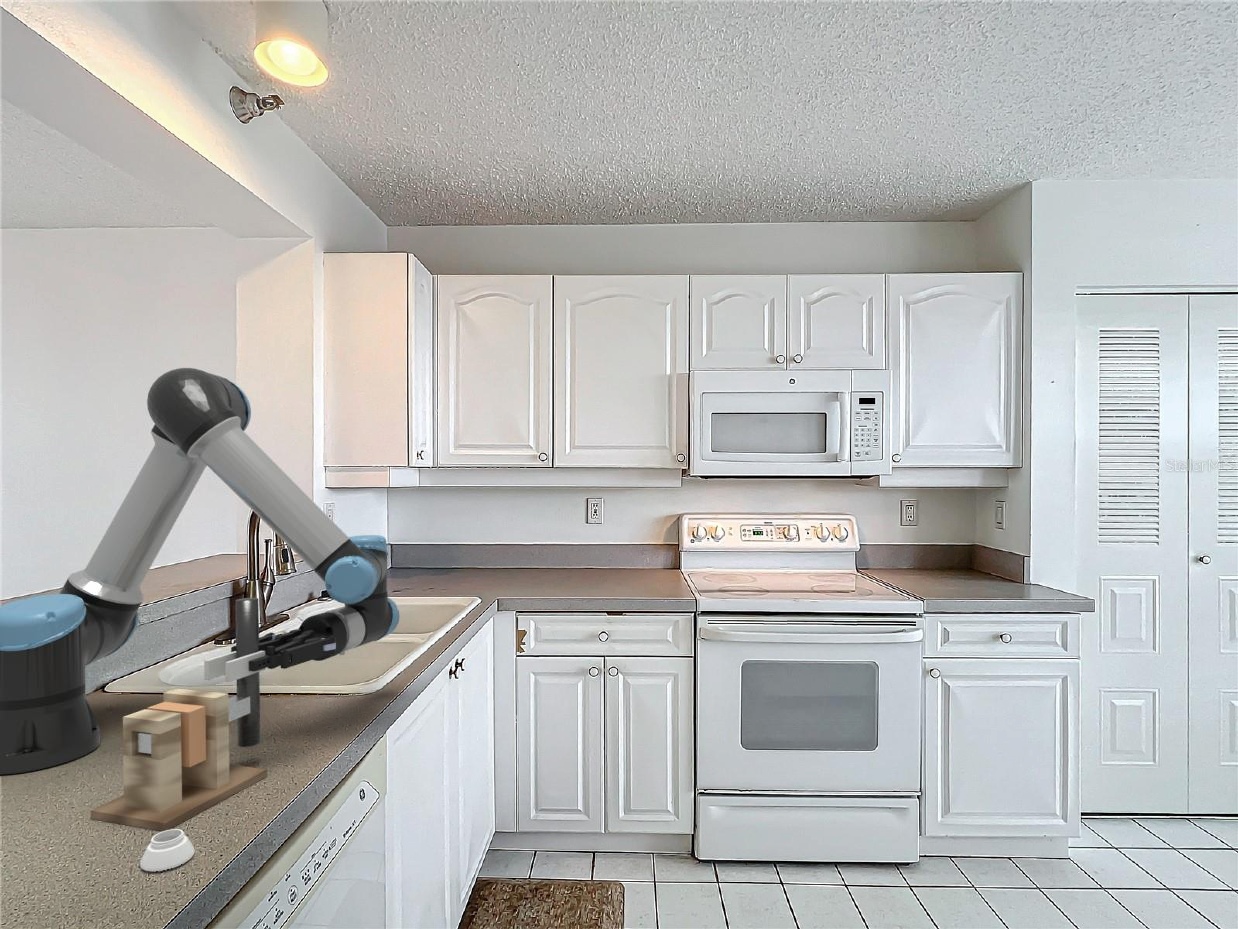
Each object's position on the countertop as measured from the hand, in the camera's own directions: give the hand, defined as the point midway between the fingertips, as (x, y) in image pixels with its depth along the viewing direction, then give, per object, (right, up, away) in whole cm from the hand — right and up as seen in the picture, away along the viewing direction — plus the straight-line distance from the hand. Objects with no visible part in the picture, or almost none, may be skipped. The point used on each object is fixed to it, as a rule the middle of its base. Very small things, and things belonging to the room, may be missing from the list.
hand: (217, 671), depth 102 cm
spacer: (-2, -10, -6) cm, 12 cm away
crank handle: (0, -12, -2) cm, 12 cm away
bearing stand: (-1, -15, -4) cm, 16 cm away
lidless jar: (+6, -15, -21) cm, 27 cm away
